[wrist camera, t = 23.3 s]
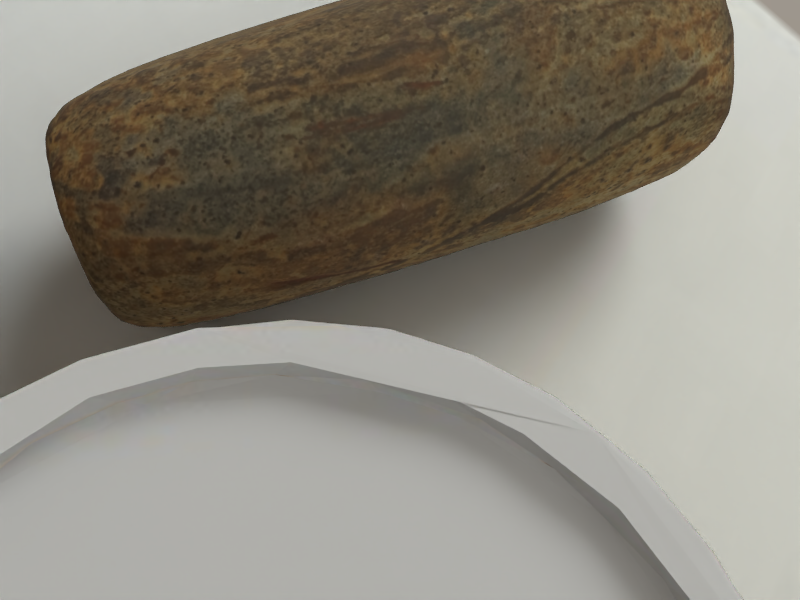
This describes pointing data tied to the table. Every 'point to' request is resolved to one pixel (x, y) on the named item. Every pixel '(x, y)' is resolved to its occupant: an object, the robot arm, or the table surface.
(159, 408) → the disposable coffee cup
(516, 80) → the brown cylindrical piece
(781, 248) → the table surface
